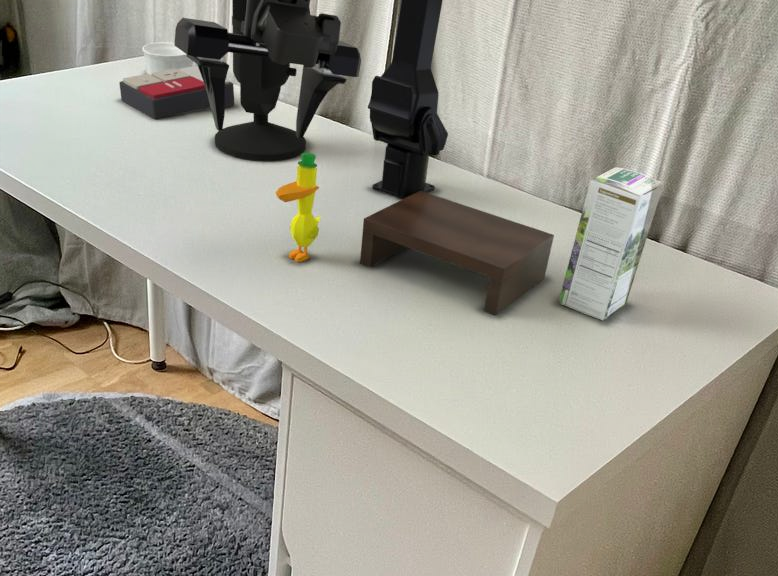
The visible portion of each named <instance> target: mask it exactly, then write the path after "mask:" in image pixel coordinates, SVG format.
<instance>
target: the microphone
mask: <svg viewBox="0 0 778 576" xmlns="http://www.w3.org/2000/svg"><path fill="white" fill-rule="evenodd" d="M231 1H232V2H231V3H232V16H231V25H232V33H235V34H242V35H244V33H243V32H241V23H242V21H245V16H246V7H247V0H231ZM256 43H264V42H259V41H258V42H253V45H254V46H255V45H256ZM232 72H233V75H234V78H235V79H236V81H237V82H238V84H240V85H239V86H240V87H239V89H240V91H239V96H240V97H239V98H240V99H239V102H240V106H241V108H242V109H243V110H244V111H245V112H246V113H248V114H253V121H248V122H243V123H239V124H233V125H229V126H227V127H223V129H222V131H218V130H217V132H216V133H215V135H214V145H215V147H216V148H217V149H218V150H219V151H220V152H221V153H223V154H225V155H227V156H230V157H233V158H237V159H241V160H247V161H256V162H258V161H259V162H277V161H283V160H289V159H293V158H296V157H298V156H301V154H302V153H305V150H306V149H307V140H306V138H305V136H303V138H298V137H297V136H296V130H294V129H291V128H289V127H286V126H282V125H279V124H276V123H273V122H269V114H270V113H271V112H272V111H273V110H274V109H275V108H276V106H277V103H278V100H279V97H280V93H281V90H282V86H284V85H286V83H287V82H288V80H289V78H290V77H296V76H297V68H296V67H291V63H287V64H285V65H284V64H279V63H276V62H274V61H272V60H271V59H270V58H269V57H262V56H254V55H246V54H239V53H232Z"/></svg>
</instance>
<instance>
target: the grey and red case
mask: <svg viewBox="0 0 778 576" xmlns="http://www.w3.org/2000/svg"><path fill="white" fill-rule="evenodd" d="M118 83H119V84H118V85H119V90H120V91H119V92H120V98H121V102H124V103H125V104H127V105H128V106H131V107H132V108H134V109H136V110H137V111H139V112H141V113H142V114H145V115H147V116H148V117H150V118H152V119H154V120H158V119H163V118H167V117H173V116H176V115H182V114H186V113H190V112H194V111H200V110H204V109H208V108H211V107H210V103H209V99H208V95H207V91H206V87H205V84H204V81H203V79H202V76H201V73H200V71H199V68H198V65H192V67H186V68H181V69H179V70H178V69H170V70H164V71H159V72H154V73H151V75H150V74H148V73H144V74H139V75H134V76H128V77H124V78H122V81H119V82H118ZM233 106H235V90H234V83H233V82H232V81H230V80H229V79H227V78H226V79H225V108H230V107H233Z"/></svg>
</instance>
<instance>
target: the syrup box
mask: <svg viewBox="0 0 778 576" xmlns="http://www.w3.org/2000/svg"><path fill="white" fill-rule="evenodd" d="M663 187H664V183H663V182H662V181H659V180H658V179H655V178H654V177H651V176H649V175H646V174H644V173H641V172H639V171H635V170H631V169H627V168H623V167H617V166H615V167H613V168H611V169H609V170H607V171H606V172H604V173H601V174H600V175H598V176H595V177H593V178H592V179H590V181H589V184H588V188H587V192H586V195H585V200H584V204H583V206H582V211H581V214H580V220H579V222H578V226H577V230H576V234H575V238H574V241H573V245H572V249H571V252H570V257H569V260H568V264H567V268H566V272H565V276H564V280H563V282H562V286H561V287H562V288H561V291H560V294H559V298H558V304H560V305H562V306H565V307H567V308H570V309H572V310H574V311H577V312H579V313H582V314H584V315H587V316H590V317H593V318H595V319H598V320H601V321H605V320H607V319H608V318H610V317H611V316H612V315H613V314H615V313H616V312H617V311H619V310H620V309H621V308H623V307H624V306H625V305H627V302H628V300H629V296H630V293H631V289H632V286H633V283H634V280H635V276H636V273H637V270H638V267H639V265H640V261H641V258H642V256H643V255H642V254H643V251H644V248H645V245H646V242H647V238H648V235H649V233H650V229H651V226H652V222H653V219H654V216H655V213H656V210H657V206H658V203H659V201H660V197H661V194H662V190H663Z"/></svg>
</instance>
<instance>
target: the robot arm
mask: <svg viewBox="0 0 778 576" xmlns="http://www.w3.org/2000/svg"><path fill="white" fill-rule="evenodd" d="M310 5H311V0H247V7H246V16H245V21H242V23H241V32H243V33H244V35H242V34H235V33H233V32H229V30H228V28H226V27H224V26H222V25H221V24H219V23H218V22H215V21H209V20H201V19H195V18H189V17H188V18H187V17H182V18H181V19H180V20H179V21H178V22H177V23H176V26H175V30H174V31H175V32H174V43H175V44H174V46H176V47H177V48H179V49H180V50H181V51H183V52H184V53H186V54H187V57H188V58H189V59H191V60H192V61H193V63H194V64H196V66H198V68H199V71H200V73H201V76H202V79H203V81H204V84H205V87H206V91H207V95H208V99H209V103H210V107H209V108H210V110H211V114H212V118H213V123H214V126H215V129H216V131H217V132H218V131H222V129H223V128H224V123H225V122H224V121H225V79H227V75H228V72H229V69H230V64H228V63H227V62H225V61H224V57H225V56H226V55H227V54H228V53H232V54H233V53H239V54H246V55H254V56H262V57H269V58H270V59H271V60H272V61H274V62H276V63H279V64H284V65H285V64H287V63H290V64H292V65H300V66H302V73H301V80H300V89H299V97H298V104H297V112H296V118H295V131H296V136H297V137H298V138H303V137H305V135H306V132H307V131H308V128H309V127H310V124H311V123H312V121H313V119H314V117H315V115H316V113H317V110H318V109H319V107H320V105H321V103H322V102H323V100H324V99H325V97H326V96H327V94H328V93H329V92H330V91H331V90H332V89H333V88H335V87H336V86H337V85H345V83H346V82H347V80H348V79H347V78H345V77H352V78H359V77H360V72H361V71H360V70H361V65H362V57H361V53H360V51H359V49H358V47H357V46H354V45H352V44H349V43H347V42H345V41H343V40H340V35H341V26H342V24H341V23H342V22H341V20H340V18H339V17H338V15H334V14H329V13H319V14H318V15H313V14H311V8H310ZM442 6H443V0H400V6H399V13H398V21H397V25H396V31H395V32H396V33H395V39H394V44H393V45H394V46H393V52H392V59H391V62H390V64H389V65H388V66H387V67H386V68H385V70H384V72H383V73H382V74H381V75H375V76H374V77H373V79H372V81H371V91H370V92H371V93H370V99H369V102H368V105H367V109H368V110H369V121H370V123H371V124H370V125H371V131H372V136H373V140H374V141H377V142H382V143H384V144H386V146H385V150H384V160H383V167H382V177H381V180H380V181H377V182H375V183H373V184H372V186H371V187H372V189H373V190H375V191H378V192H380V193H383V194H387V195H390V196H393V197H396V198H398V199H400V200H402V199H405V198H407V197H409V196H411V195H413V194H415V193H417V192H419V191H423V192H426V193H429V194H430V192H433V191H435V188H436V186H435V185H434V184H431V183H429V182H427V174H428V167H429V159H430V156H439V155H440V152H441V151H443V150H444V149H445V146H446V143H447V139H448V136H449V133H448V131H447V129H446V127H445V125H444V123H443V122H442V120H441V118H440V116H439V114H438V106H439V105H438V104H439V90H438V87H437V84H436V83H437V82H436V79H435V77H434V74H433V71H432V62H433V57H434V53H435V47H436V40H437V34H438V29H439V24H440V17H441V11H442ZM258 41H259V42H264V43H256V45H255V46H254V45H253V42H258Z"/></svg>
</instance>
